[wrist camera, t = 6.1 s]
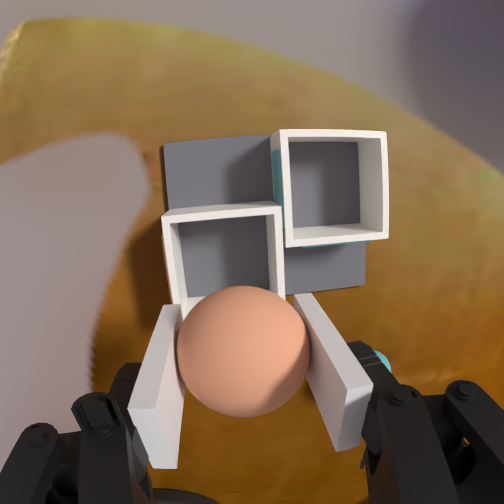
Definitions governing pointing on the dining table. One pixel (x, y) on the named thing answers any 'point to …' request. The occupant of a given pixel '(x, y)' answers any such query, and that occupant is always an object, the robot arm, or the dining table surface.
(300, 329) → the ball terracotta
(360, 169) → the white square bin
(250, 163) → the mat
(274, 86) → the dining table surface
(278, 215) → the white square box
